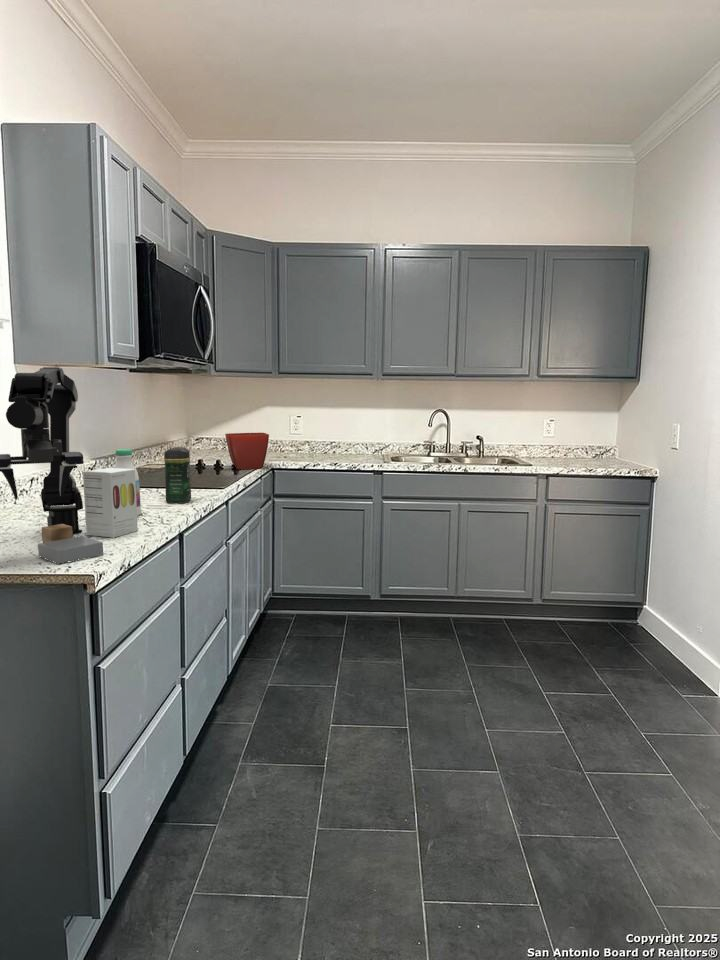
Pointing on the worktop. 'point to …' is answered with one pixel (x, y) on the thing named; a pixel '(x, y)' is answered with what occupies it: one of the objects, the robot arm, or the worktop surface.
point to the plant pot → (247, 449)
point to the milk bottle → (126, 463)
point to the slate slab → (70, 549)
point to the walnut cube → (56, 532)
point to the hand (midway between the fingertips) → (39, 497)
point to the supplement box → (110, 502)
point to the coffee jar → (177, 475)
